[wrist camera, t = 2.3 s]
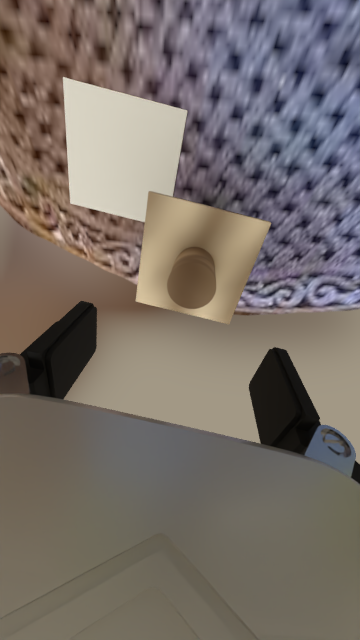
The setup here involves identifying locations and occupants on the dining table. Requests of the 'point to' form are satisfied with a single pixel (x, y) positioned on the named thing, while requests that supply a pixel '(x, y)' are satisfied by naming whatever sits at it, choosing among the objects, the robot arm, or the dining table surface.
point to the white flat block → (119, 148)
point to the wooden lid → (196, 257)
